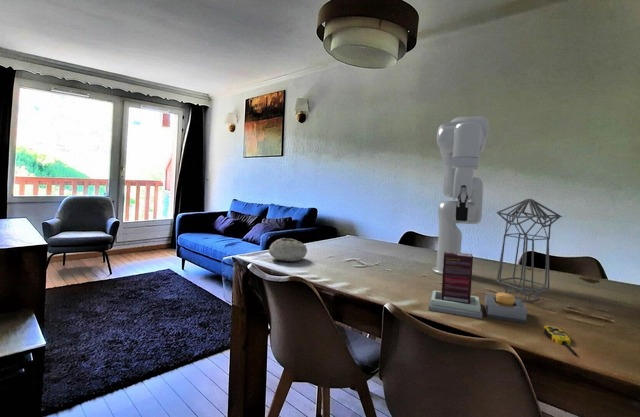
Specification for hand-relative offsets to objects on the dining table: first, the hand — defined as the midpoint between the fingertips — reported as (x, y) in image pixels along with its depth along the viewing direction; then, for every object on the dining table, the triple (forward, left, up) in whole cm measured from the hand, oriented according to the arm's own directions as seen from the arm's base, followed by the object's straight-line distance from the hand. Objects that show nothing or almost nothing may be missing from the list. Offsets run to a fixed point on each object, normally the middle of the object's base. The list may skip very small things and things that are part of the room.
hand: (461, 219), depth 107 cm
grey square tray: (0, 0, -28) cm, 28 cm away
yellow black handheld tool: (+14, +25, -29) cm, 41 cm away
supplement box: (0, 0, -27) cm, 27 cm away
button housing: (0, +14, -28) cm, 31 cm away
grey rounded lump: (-29, -74, -28) cm, 84 cm away
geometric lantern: (-22, +22, -28) cm, 42 cm away
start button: (0, +14, -25) cm, 29 cm away
